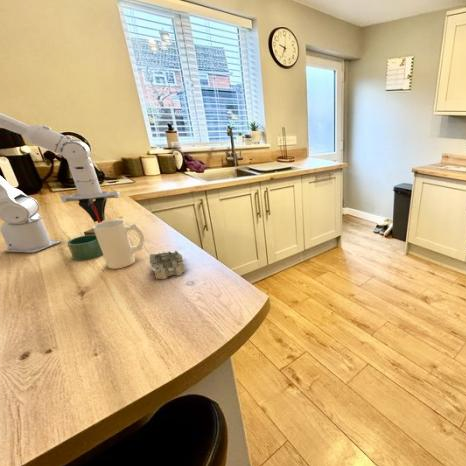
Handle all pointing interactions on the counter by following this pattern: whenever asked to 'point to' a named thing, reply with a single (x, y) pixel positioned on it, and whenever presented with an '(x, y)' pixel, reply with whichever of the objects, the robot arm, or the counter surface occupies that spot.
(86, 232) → the straw holder
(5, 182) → the robot arm
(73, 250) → the cup
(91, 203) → the straw
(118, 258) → the mug
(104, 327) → the counter surface
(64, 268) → the counter surface
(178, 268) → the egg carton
